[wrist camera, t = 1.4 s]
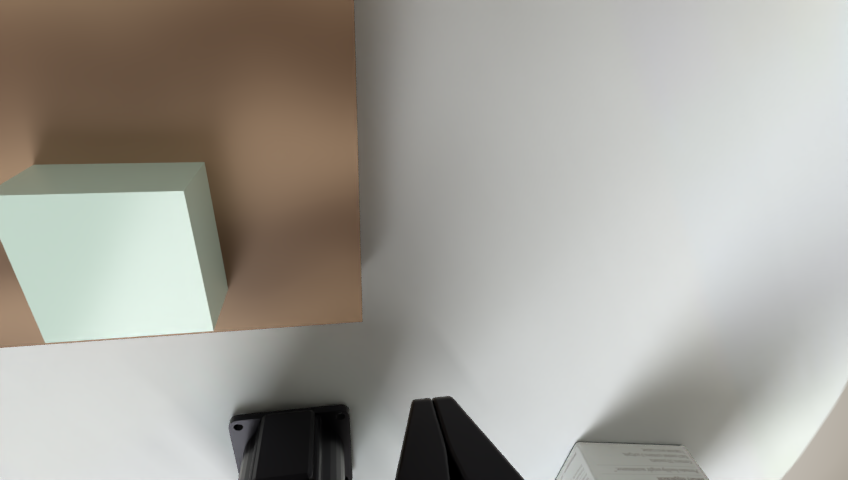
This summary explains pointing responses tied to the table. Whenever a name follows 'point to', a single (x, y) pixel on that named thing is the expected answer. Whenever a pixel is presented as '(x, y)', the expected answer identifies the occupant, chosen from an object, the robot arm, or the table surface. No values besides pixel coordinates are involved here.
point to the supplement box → (630, 463)
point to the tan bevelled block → (202, 134)
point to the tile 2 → (114, 249)
